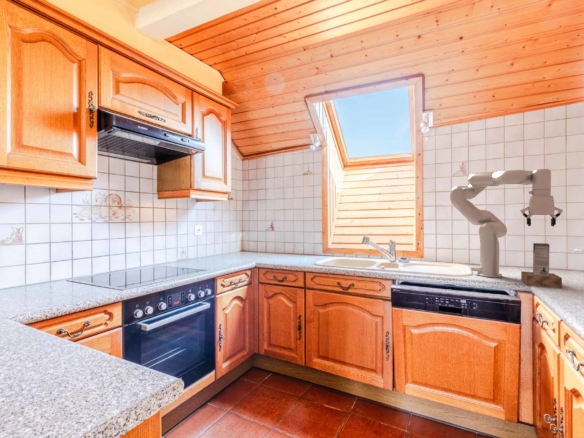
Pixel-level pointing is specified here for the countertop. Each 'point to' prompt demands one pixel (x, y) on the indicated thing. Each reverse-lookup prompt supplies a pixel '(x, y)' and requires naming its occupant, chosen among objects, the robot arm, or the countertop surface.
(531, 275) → the block
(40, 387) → the countertop surface
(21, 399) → the countertop surface
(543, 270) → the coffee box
